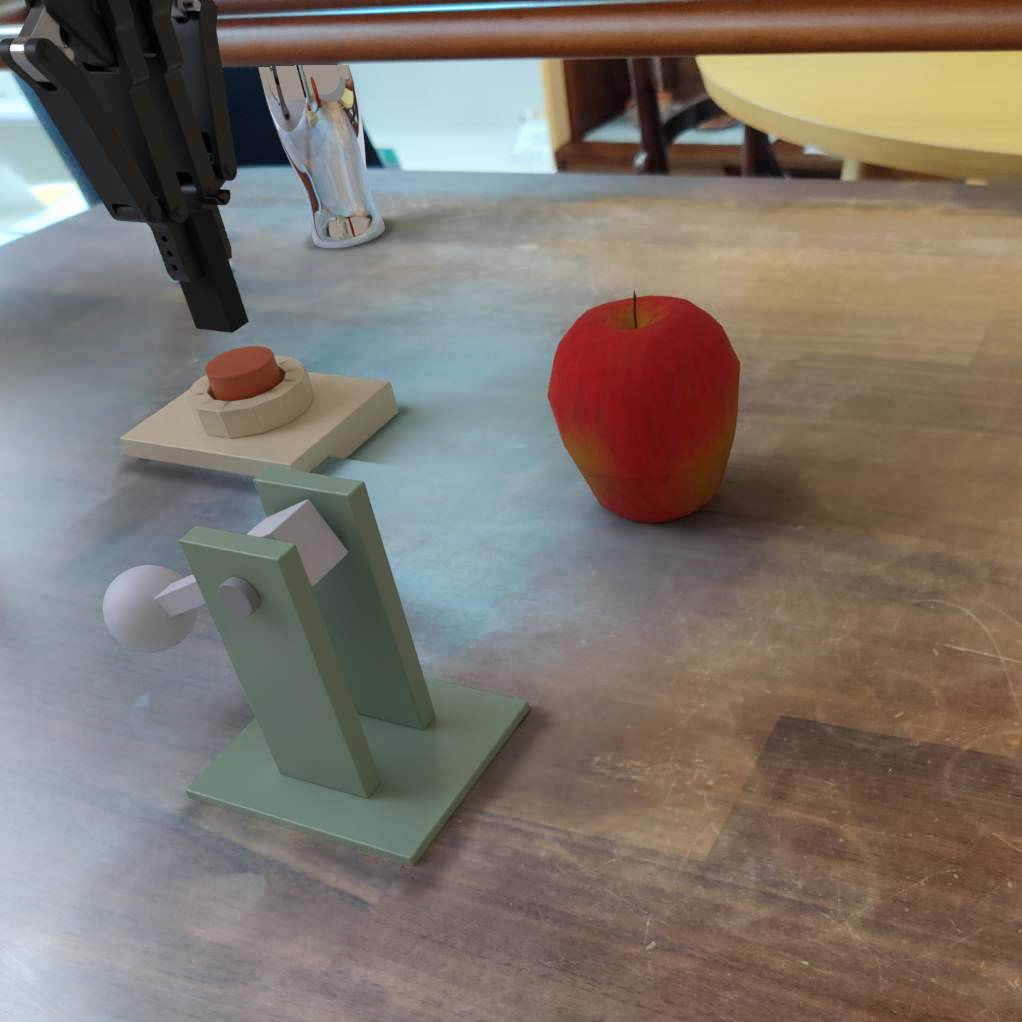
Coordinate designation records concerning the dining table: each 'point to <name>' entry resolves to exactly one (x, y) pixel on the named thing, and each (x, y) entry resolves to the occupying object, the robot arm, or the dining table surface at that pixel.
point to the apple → (647, 404)
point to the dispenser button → (243, 373)
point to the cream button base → (266, 423)
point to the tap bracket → (336, 685)
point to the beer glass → (325, 149)
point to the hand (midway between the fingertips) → (222, 324)
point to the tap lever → (174, 600)
